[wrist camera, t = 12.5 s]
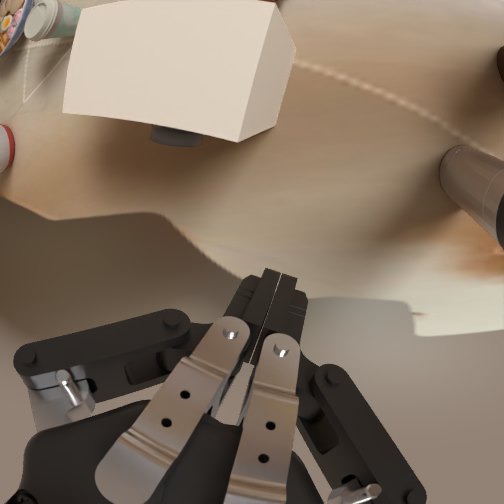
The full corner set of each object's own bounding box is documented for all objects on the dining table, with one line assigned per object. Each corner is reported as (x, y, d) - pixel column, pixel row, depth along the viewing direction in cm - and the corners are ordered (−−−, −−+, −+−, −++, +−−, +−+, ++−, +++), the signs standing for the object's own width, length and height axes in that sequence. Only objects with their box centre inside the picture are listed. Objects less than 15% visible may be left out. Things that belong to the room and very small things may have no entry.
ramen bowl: (28, 66, 38) (2, 69, 31) (-5, 59, 37) (-26, 63, 30) (64, -28, 25) (39, -32, 18) (23, -19, 24) (2, -20, 17)
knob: (224, 75, 30) (205, 70, 24) (209, 141, 34) (188, 149, 29) (178, 69, 30) (153, 65, 25) (166, 132, 35) (140, 139, 29)
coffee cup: (95, 32, 34) (48, 28, 23) (66, 48, 36) (21, 49, 25) (96, -2, 30) (52, -11, 19) (67, 15, 32) (24, 12, 21)
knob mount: (296, 50, 32) (275, 3, 15) (275, 125, 38) (237, 142, 21) (170, 33, 33) (81, 9, 16) (154, 101, 39) (62, 112, 22)
